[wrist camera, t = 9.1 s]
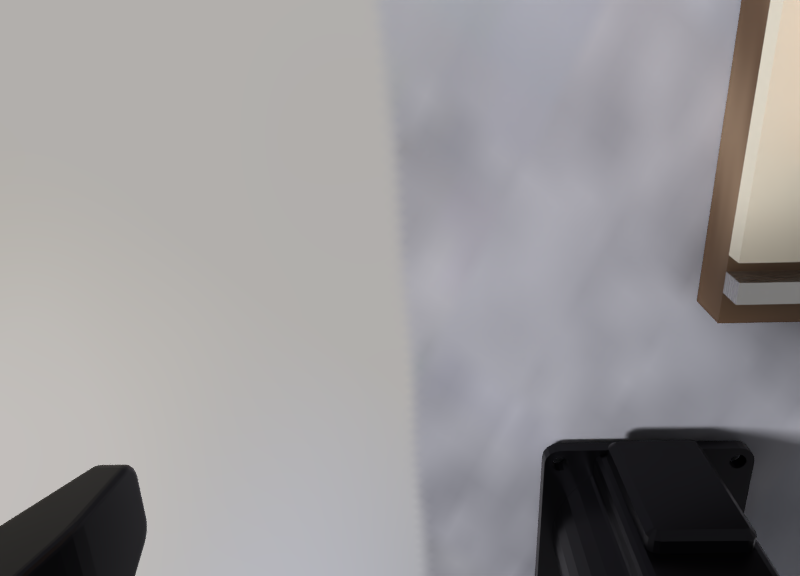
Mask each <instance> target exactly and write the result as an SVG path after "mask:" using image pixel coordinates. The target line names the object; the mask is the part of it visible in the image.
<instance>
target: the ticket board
mask: <svg viewBox="0 0 800 576" xmlns="http://www.w3.org/2000/svg"><path fill="white" fill-rule="evenodd" d="M769 6H770V0H742V1H741V8H740V15H739V21H738V28H737V35H736V41H735V48H734V55H733V62H732V68H731V75H730V82H729V88H728V95H727V102H726V109H725V115H724V122H723V129H722V135H721V142H720V149H719V156H718V162H717V169H716V176H715V182H714V189H713V196H712V203H711V209H710V216H709V223H708V229H707V236H706V243H705V250H704V256H703V263H702V270H701V276H700V283H699V290H698V297H697V302H698V303H699V304H700V305H701V306H702V307H703V308H704V309H705V310H706V311H707V312H708V313H709V314H710V315H711V316H712V318H713V319H714V320H715V321H716V322H717V323H754V322H800V262H776V263H738V262H737V261H735V260H734V259H733V258H732V257H730V256H729V250H730V244H731V238H732V232H733V226H734V220H735V214H736V208H737V202H738V196H739V189H740V183H741V177H742V171H743V165H744V159H745V153H746V147H747V141H748V134H749V128H750V122H751V116H752V110H753V104H754V98H755V92H756V86H757V80H758V73H759V67H760V61H761V55H762V49H763V43H764V37H765V31H766V25H767V18H768V12H769Z"/></svg>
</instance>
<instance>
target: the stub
mask: <svg viewBox="0 0 800 576" xmlns="http://www.w3.org/2000/svg"><path fill="white" fill-rule="evenodd" d="M729 256H730V257H732V258H733V259H734V260H735V261H737V262H738V263H776V262H800V0H770V6H769V12H768V18H767V25H766V31H765V37H764V43H763V49H762V55H761V61H760V67H759V73H758V80H757V86H756V92H755V98H754V104H753V110H752V116H751V122H750V128H749V134H748V141H747V147H746V153H745V159H744V165H743V171H742V177H741V183H740V189H739V196H738V202H737V208H736V214H735V220H734V226H733V232H732V238H731V244H730V250H729Z"/></svg>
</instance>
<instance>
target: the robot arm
mask: <svg viewBox="0 0 800 576" xmlns="http://www.w3.org/2000/svg"><path fill="white" fill-rule="evenodd" d="M736 455H740V456H739V458H737V459H736V460H732V461H730V460H731V458H733V457H734V456H736ZM560 457H562V458H565V460H564V461H562V462H560V463H555V462H553V461H554V460H555V459H556V458H560ZM753 465H754V456H753V454H752V452H751V451H750V450H749V448H748V447H747V446H746V444H744V443H742V442H740V441H693V440H666V441H616V442H609V443H557V444H552V445H551V446H549V447H547V448H546V449H545V451H544V452H543V456H542V468H541V485H540V501H539V518H538V534H537V551H536V567H535V576H779V574H778V573H777V571H776V570H775V568H774V566H773V565H772V563H771V562H770V560H769V559H768V557H767V555H766V554H765V552H764V551H763V549H762V548H761V546H760V544H759V543H758V541H757V540H756V537H757V535H756V532H755V530H754V529H753V527H752V526H751V524H750V522H749V521H748V519H747V518H746V516H745V515H744V509H745V504H746V499H747V495H748V490H749V485H750V480H751V475H752V470H753ZM146 531H147V521H146V516H145V511H144V506H143V502H142V497H141V493H140V488H139V483H138V479H137V475H136V472H135V471H134V469H133V468H132V467H130V466H129V465H98V466H95V467H93V468H91V469H90V470H88V471H87V472H85V473H83V474H82V475H80V476H79V477H77V478H75V479H74V480H72V481H71V482H69V483H68V484H66V485H64V486H63V487H61V488H60V489H58V490H57V491H55V492H53V493H52V494H50V495H49V496H47V497H45V498H44V499H42V500H41V501H39V502H38V503H36V504H34V505H33V506H31V507H30V508H28V509H27V510H25V511H23V512H22V513H20V514H19V515H17V516H15V517H14V518H12V519H11V520H9V521H7V522H6V523H4V524H3V525H1V526H0V576H135V574H136V570H137V567H138V563H139V560H140V556H141V553H142V550H143V546H144V543H145V539H146Z"/></svg>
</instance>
